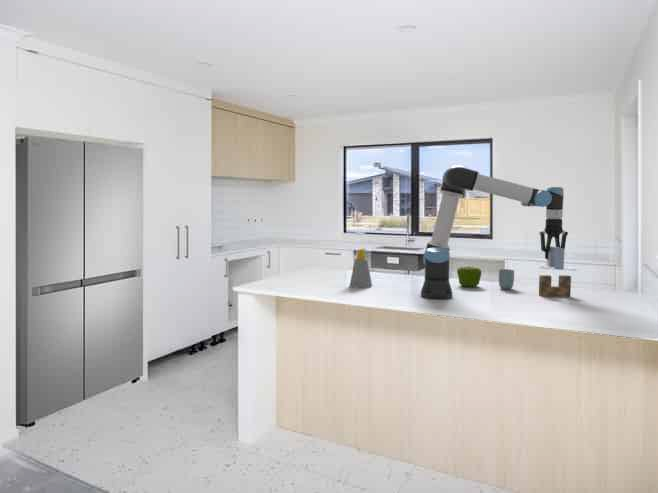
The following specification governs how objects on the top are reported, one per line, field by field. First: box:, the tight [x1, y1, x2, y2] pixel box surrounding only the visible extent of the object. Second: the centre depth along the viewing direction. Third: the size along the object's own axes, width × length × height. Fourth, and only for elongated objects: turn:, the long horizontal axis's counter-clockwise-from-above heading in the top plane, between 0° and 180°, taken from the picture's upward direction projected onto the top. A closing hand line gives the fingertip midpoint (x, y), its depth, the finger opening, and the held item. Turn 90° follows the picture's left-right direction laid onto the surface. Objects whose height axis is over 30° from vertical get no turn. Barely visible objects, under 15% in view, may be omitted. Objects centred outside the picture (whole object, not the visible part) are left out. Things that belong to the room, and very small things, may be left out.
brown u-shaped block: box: [538, 274, 572, 298], centre depth 245 cm, size 14×3×10 cm, turn 86°
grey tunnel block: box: [548, 245, 565, 270], centre depth 244 cm, size 12×3×10 cm, turn 176°
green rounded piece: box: [456, 266, 482, 288], centre depth 274 cm, size 12×12×11 cm
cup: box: [498, 268, 515, 290], centre depth 265 cm, size 8×8×10 cm
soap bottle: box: [349, 248, 373, 289], centre depth 274 cm, size 12×12×20 cm
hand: (552, 265), depth 249 cm, fingers closed on grey tunnel block, 3 cm apart
